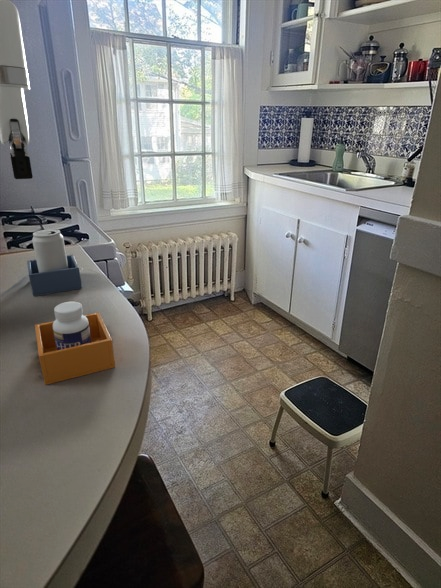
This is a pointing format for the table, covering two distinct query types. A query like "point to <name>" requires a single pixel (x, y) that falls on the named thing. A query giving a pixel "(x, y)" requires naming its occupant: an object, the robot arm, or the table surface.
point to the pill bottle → (70, 326)
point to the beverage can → (49, 250)
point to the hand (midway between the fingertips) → (22, 175)
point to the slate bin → (54, 278)
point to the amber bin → (74, 352)
